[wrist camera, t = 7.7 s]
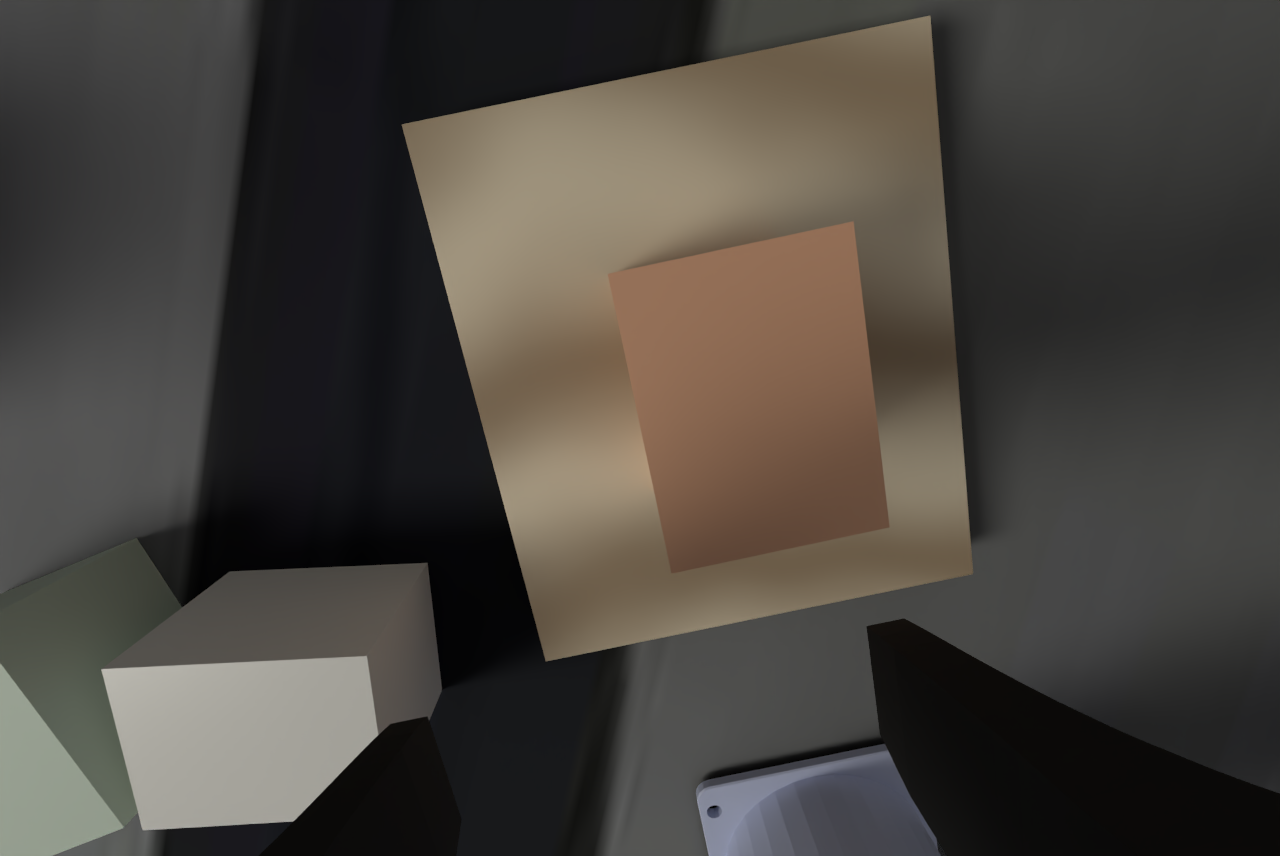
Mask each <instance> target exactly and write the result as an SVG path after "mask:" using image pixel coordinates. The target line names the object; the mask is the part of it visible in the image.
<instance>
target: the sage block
mask: <svg viewBox="0 0 1280 856" xmlns="http://www.w3.org/2000/svg"><path fill="white" fill-rule="evenodd" d="M181 608H182V606H181V605H180V603H179V602H178V600H177V599H176V597H175V596H174V594H173V593H172V591H171V590H170V588H169V587H168V585H167V584H166V582H165V580H164V579H163V577H162V576H161V574H160V573H159V571H158V570H157V568H156V567H155V565H154V564H153V562H152V561H151V559H150V558H149V556H148V555H147V553H146V551H145V550H144V548H143V547H142V545H141V544H140V542H139V541H138V539H137V538H135V539H133V540H130V541H128V542H125V543H123V544H120V545H118V546H116V547H113V548H111V549H108V550H106V551H103V552H101V553H99V554H96V555H94V556H91V557H89V558H86V559H84V560H82V561H79V562H77V563H74V564H72V565H69V566H67V567H64V568H62V569H60V570H57V571H55V572H52V573H50V574H47V575H45V576H43V577H40V578H38V579H35V580H33V581H30V582H28V583H26V584H23V585H21V586H18V587H16V588H13V589H11V590H8V591H6V592H4V593H2V594H0V856H52V855H55V854H58V853H60V852H63V851H65V850H68V849H70V848H73V847H76V846H78V845H81V844H83V843H86V842H88V841H91V840H94V839H96V838H99V837H101V836H104V835H107V834H109V833H112V832H114V831H117V830H119V829H122V828H124V827H125V826H126V825H127V824H128V823H129V822H130V820H131V819H132V818H133V817H134V816H135V815H136V814H137V813H138V810H137V806H136V802H135V798H134V795H133V791H132V787H131V783H130V779H129V775H128V771H127V767H126V764H125V760H124V756H123V752H122V748H121V744H120V740H119V736H118V733H117V729H116V725H115V721H114V717H113V713H112V709H111V705H110V702H109V698H108V694H107V690H106V686H105V682H104V678H103V674H102V671H101V669H102V668H103V667H105V666H106V665H107V664H109V663H110V662H111V661H113V660H114V659H115V658H116V657H118V656H119V655H120V654H122V653H123V652H124V651H126V650H127V649H128V648H130V647H131V646H132V645H134V644H135V643H136V642H138V641H139V640H140V639H141V638H143V637H144V636H145V635H147V634H148V633H149V632H151V631H152V630H153V629H155V628H156V627H157V626H159V625H160V624H161V623H163V622H164V621H165V620H166V619H168V618H169V617H170V616H172V615H173V614H174V613H176V612H177V611H178V610H180V609H181Z"/></svg>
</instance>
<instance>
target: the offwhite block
mask: <svg viewBox="0 0 1280 856" xmlns="http://www.w3.org/2000/svg"><path fill="white" fill-rule="evenodd" d="M101 671H102V674H103V678H104V682H105V686H106V690H107V694H108V698H109V702H110V705H111V709H112V713H113V717H114V721H115V725H116V729H117V733H118V736H119V740H120V744H121V748H122V752H123V756H124V760H125V764H126V767H127V771H128V775H129V779H130V783H131V787H132V791H133V795H134V798H135V802H136V806H137V810H138V814H139V818H140V822H141V826H142V829H143V830H156V829H173V828H190V827H207V826H223V825H240V824H257V823H274V822H291V821H295V819H296V818H297V817H298V816H299V815H300V814H301V813H302V812H303V811H304V810H305V809H306V808H307V807H308V806H309V805H310V804H311V803H312V802H313V801H314V800H315V799H316V798H317V797H318V796H319V795H320V794H321V793H322V792H323V791H324V790H325V789H326V788H327V787H328V786H329V785H330V784H331V783H332V782H333V781H334V779H335V778H336V777H337V776H338V775H339V774H340V773H341V772H342V771H343V770H344V769H345V768H346V767H347V766H348V765H349V764H350V763H351V762H352V761H353V760H354V759H355V758H356V757H357V756H358V755H359V754H360V753H361V752H362V751H363V750H364V749H365V748H366V747H367V746H368V745H369V744H370V743H371V742H372V741H373V740H374V739H375V738H376V737H377V736H378V735H379V734H380V733H381V732H382V731H383V730H384V729H385V728H387V727H388V726H389V725H390V724H392V723H397V722H402V721H406V720H411V719H416V718H421V717H426V716H428V719H429V720H430V717H431V715H432V713H433V710H434V708H435V705H436V703H437V700H438V698H439V696H440V693H441V691H442V685H441V676H440V668H439V659H438V650H437V641H436V633H435V624H434V615H433V606H432V597H431V589H430V580H429V571H428V563H414V564H391V565H368V566H345V567H322V568H298V569H275V570H252V571H230V572H228V573H227V574H226V575H224V576H223V577H222V578H220V579H219V580H218V581H216V582H215V583H214V584H213V585H211V586H210V587H209V588H207V589H206V590H205V591H203V592H202V593H201V594H199V595H198V596H197V597H195V598H194V599H193V600H191V601H190V602H189V603H188V604H186V605H185V606H184V607H182V608H181V609H180V610H178V611H177V612H176V613H174V614H173V615H172V616H170V617H169V618H168V619H166V620H165V621H164V622H163V623H161V624H160V625H159V626H157V627H156V628H155V629H153V630H152V631H151V632H149V633H148V634H147V635H145V636H144V637H143V638H141V639H140V640H139V641H138V642H136V643H135V644H134V645H132V646H131V647H130V648H128V649H127V650H126V651H124V652H123V653H122V654H120V655H119V656H118V657H116V658H115V659H114V660H113V661H111V662H110V663H109V664H107V665H106V666H105V667H103V668H102V669H101Z"/></svg>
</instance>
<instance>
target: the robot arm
mask: <svg viewBox="0 0 1280 856" xmlns="http://www.w3.org/2000/svg"><path fill="white" fill-rule="evenodd" d="M867 633H868V641H869V649H870V657H871V665H872V673H873V681H874V689H875V697H876V705H877V713H878V721H879V729H880V734H881V736H882V739H883V741H884V743H885V744H880V745H876V746H871V747H866V748H861V749H856V750H851V751H846V752H841V753H836V754H832V755H827V756H822V757H817V758H812V759H807V760H802V761H797V762H792V763H788V764H783V765H778V766H773V767H768V768H763V769H758V770H753V771H748V772H744V773H739V774H734V775H729V776H724V777H719V778H714V779H709V780H706V781H703V782H702V783H701V784H699V785H698V787H697V789H696V797H697V803H698V807H699V812H700V817H701V821H702V826H703V831H704V835H705V840H706V845H707V849H708V854H709V856H941V855H940V853H939V851H938V847H937V840H938V842H939V844H940V845H941V847H942V848H943V850H944V852H945V853H946V855H947V856H1280V794H1279V793H1276V792H1273V791H1270V790H1268V789H1265V788H1262V787H1259V786H1256V785H1253V784H1250V783H1248V782H1245V781H1242V780H1240V779H1237V778H1234V777H1232V776H1229V775H1226V774H1224V773H1221V772H1218V771H1216V770H1213V769H1210V768H1208V767H1205V766H1203V765H1200V764H1198V763H1195V762H1193V761H1191V760H1188V759H1186V758H1183V757H1181V756H1178V755H1176V754H1173V753H1171V752H1168V751H1166V750H1164V749H1161V748H1159V747H1156V746H1154V745H1151V744H1149V743H1146V742H1144V741H1142V740H1139V739H1137V738H1135V737H1132V736H1130V735H1128V734H1126V733H1123V732H1121V731H1119V730H1117V729H1114V728H1112V727H1110V726H1108V725H1106V724H1104V723H1101V722H1099V721H1097V720H1095V719H1093V718H1091V717H1089V716H1087V715H1085V714H1082V713H1080V712H1078V711H1076V710H1074V709H1072V708H1070V707H1068V706H1066V705H1064V704H1061V703H1059V702H1057V701H1055V700H1053V699H1051V698H1050V697H1048V696H1046V695H1044V694H1042V693H1040V692H1038V691H1036V690H1034V689H1032V688H1030V687H1028V686H1026V685H1024V684H1022V683H1020V682H1018V681H1016V680H1015V679H1013V678H1011V677H1009V676H1007V675H1005V674H1003V673H1002V672H1000V671H998V670H996V669H994V668H992V667H991V666H989V665H987V664H985V663H983V662H981V661H980V660H978V659H976V658H974V657H972V656H971V655H969V654H967V653H965V652H964V651H962V650H960V649H958V648H956V647H955V646H953V645H951V644H949V643H948V642H946V641H944V640H942V639H940V638H939V637H937V636H935V635H933V634H932V633H930V632H928V631H926V630H924V629H923V628H921V627H919V626H917V625H915V624H913V623H912V622H910V621H908V620H906V619H900V620H895V621H890V622H885V623H880V624H875V625H870V626H867ZM713 805H717V806H718V807H716V808H709V807H711V806H713ZM460 825H461V816H460V813H459V810H458V807H457V804H456V801H455V798H454V795H453V792H452V789H451V786H450V783H449V780H448V777H447V774H446V771H445V768H444V765H443V762H442V759H441V756H440V753H439V750H438V746H437V743H436V740H435V737H434V734H433V731H432V728H431V725H430V722H429V719H428V716H426V717H421V718H416V719H411V720H406V721H402V722H397V723H392V724H390V725H389V726H388V727H387V728H385V729H384V730H383V731H382V732H381V733H380V734H379V735H378V736H377V737H376V738H375V739H374V740H373V741H372V742H371V743H370V744H369V745H368V746H367V747H366V748H365V749H364V750H363V751H362V752H361V753H360V754H359V755H358V756H357V757H356V758H355V759H354V760H353V761H352V762H351V763H350V764H349V765H348V766H347V767H346V768H345V769H344V770H343V771H342V772H341V773H340V774H339V775H338V776H337V777H336V778H335V779H334V781H333V782H332V783H331V784H330V785H329V786H328V787H327V788H326V789H325V790H324V791H323V792H322V793H321V794H320V795H319V796H318V797H317V798H316V799H315V800H314V801H313V802H312V803H311V804H310V805H309V806H308V807H307V808H306V809H305V810H304V811H303V812H302V813H301V814H300V815H299V816H298V817H297V818H296V819H295V821H294V822H293V823H292V824H291V825H290V826H289V827H288V828H287V829H286V830H285V831H284V832H283V833H282V834H281V835H280V836H279V837H278V838H277V839H276V840H275V841H274V842H273V843H271V844H270V845H269V846H268V847H267V848H266V849H265V850H264V851H263V852H262V853H261V854H260V855H259V856H456V853H457V846H458V839H459V832H460Z"/></svg>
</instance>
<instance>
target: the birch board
mask: <svg viewBox="0 0 1280 856" xmlns="http://www.w3.org/2000/svg"><path fill="white" fill-rule="evenodd" d="M402 127H403V131H404V135H405V138H406V142H407V146H408V149H409V153H410V157H411V161H412V164H413V168H414V172H415V176H416V179H417V183H418V187H419V190H420V194H421V198H422V202H423V205H424V209H425V213H426V217H427V220H428V224H429V228H430V231H431V235H432V239H433V243H434V246H435V250H436V254H437V258H438V261H439V265H440V269H441V272H442V276H443V280H444V284H445V287H446V291H447V295H448V299H449V302H450V306H451V310H452V313H453V317H454V321H455V325H456V328H457V332H458V336H459V339H460V343H461V347H462V351H463V354H464V358H465V362H466V366H467V369H468V373H469V377H470V380H471V384H472V388H473V392H474V395H475V399H476V403H477V407H478V410H479V414H480V418H481V421H482V425H483V429H484V433H485V436H486V440H487V444H488V448H489V451H490V455H491V459H492V462H493V466H494V470H495V474H496V477H497V481H498V485H499V488H500V492H501V496H502V500H503V503H504V507H505V511H506V515H507V518H508V522H509V526H510V529H511V533H512V537H513V541H514V544H515V548H516V552H517V556H518V559H519V563H520V567H521V570H522V574H523V578H524V582H525V585H526V589H527V593H528V597H529V600H530V604H531V608H532V611H533V615H534V619H535V623H536V626H537V630H538V634H539V637H540V641H541V645H542V649H543V652H544V656H545V660H546V661H550V660H555V659H560V658H565V657H570V656H575V655H580V654H584V653H589V652H594V651H599V650H604V649H609V648H614V647H619V646H624V645H628V644H633V643H638V642H643V641H648V640H653V639H658V638H663V637H668V636H672V635H677V634H682V633H687V632H692V631H697V630H702V629H707V628H711V627H716V626H721V625H726V624H731V623H736V622H741V621H746V620H751V619H755V618H760V617H765V616H770V615H775V614H780V613H785V612H790V611H794V610H799V609H804V608H809V607H814V606H819V605H824V604H829V603H834V602H838V601H843V600H848V599H853V598H858V597H863V596H868V595H873V594H878V593H882V592H887V591H892V590H897V589H902V588H907V587H912V586H917V585H921V584H926V583H931V582H936V581H941V580H946V579H951V578H956V577H961V576H965V575H970V574H973V567H972V554H971V540H970V527H969V514H968V501H967V488H966V475H965V462H964V449H963V436H962V423H961V410H960V397H959V384H958V371H957V358H956V345H955V331H954V318H953V305H952V292H951V279H950V266H949V253H948V240H947V227H946V214H945V201H944V188H943V175H942V162H941V149H940V136H939V123H938V109H937V96H936V83H935V70H934V57H933V44H932V31H931V18H930V16H926V17H921V18H916V19H911V20H907V21H902V22H897V23H892V24H887V25H882V26H878V27H873V28H868V29H863V30H858V31H853V32H848V33H844V34H839V35H834V36H829V37H824V38H819V39H814V40H810V41H805V42H800V43H795V44H790V45H785V46H780V47H776V48H771V49H766V50H761V51H756V52H751V53H746V54H742V55H737V56H732V57H727V58H722V59H717V60H713V61H708V62H703V63H698V64H693V65H688V66H683V67H679V68H674V69H669V70H664V71H659V72H654V73H649V74H645V75H640V76H635V77H630V78H625V79H620V80H615V81H611V82H606V83H601V84H596V85H591V86H586V87H582V88H577V89H572V90H567V91H562V92H557V93H552V94H548V95H543V96H538V97H533V98H528V99H523V100H518V101H514V102H509V103H504V104H499V105H494V106H489V107H484V108H480V109H475V110H470V111H465V112H460V113H455V114H450V115H446V116H441V117H436V118H431V119H426V120H421V121H417V122H412V123H407V124H402ZM853 221H854V229H855V238H856V246H857V255H858V263H859V272H860V280H861V289H862V297H863V306H864V314H865V323H866V331H867V339H868V348H869V356H870V365H871V373H872V382H873V390H874V399H875V407H876V416H877V424H878V433H879V441H880V450H881V458H882V466H883V475H884V483H885V492H886V500H887V509H888V517H889V526H890V527H889V528H885V529H880V530H875V531H870V532H866V533H861V534H856V535H852V536H847V537H842V538H837V539H833V540H828V541H823V542H819V543H814V544H809V545H804V546H800V547H795V548H790V549H785V550H781V551H776V552H771V553H767V554H762V555H757V556H752V557H748V558H743V559H738V560H734V561H729V562H724V563H719V564H715V565H710V566H705V567H701V568H696V569H691V570H686V571H682V572H677V573H671V569H670V564H669V559H668V555H667V550H666V545H665V541H664V536H663V531H662V527H661V522H660V517H659V513H658V508H657V503H656V498H655V494H654V489H653V484H652V480H651V475H650V470H649V466H648V461H647V456H646V452H645V447H644V442H643V438H642V433H641V428H640V424H639V419H638V414H637V409H636V405H635V400H634V395H633V391H632V386H631V381H630V377H629V372H628V367H627V363H626V358H625V353H624V349H623V344H622V339H621V335H620V330H619V325H618V320H617V316H616V311H615V306H614V302H613V297H612V292H611V288H610V283H609V278H608V274H609V273H614V272H619V271H624V270H628V269H633V268H638V267H642V266H647V265H652V264H656V263H661V262H666V261H670V260H675V259H680V258H684V257H689V256H694V255H698V254H703V253H708V252H712V251H717V250H722V249H726V248H731V247H736V246H740V245H745V244H750V243H755V242H759V241H764V240H769V239H773V238H778V237H783V236H787V235H792V234H797V233H801V232H806V231H811V230H815V229H820V228H825V227H829V226H834V225H839V224H843V223H848V222H853Z"/></svg>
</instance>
